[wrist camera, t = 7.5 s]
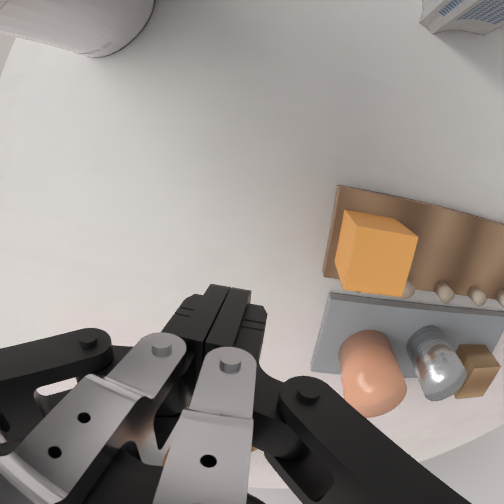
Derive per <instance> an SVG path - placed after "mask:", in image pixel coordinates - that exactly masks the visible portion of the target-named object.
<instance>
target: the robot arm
mask: <svg viewBox="0 0 504 504" xmlns="http://www.w3.org/2000/svg"><path fill="white" fill-rule="evenodd" d="M153 5H154V0H0V34H4V35H9V36H14V37H18V38H23V39H28V40H32V41H36V42H40V43H44V44H48V45H52V46H55V47H59V48H62V49H66V50H69V51H73V52H74V53H78V54H82V55H86V56H89V57H103V56H106V55H110V54H112V53H114V52H116V51H118V50H120V49H121V48H123V47H124V46H125V45H127V44H128V43H129V42H130V41H131V40H132V39H134V38H135V37H136V36H137V34H138V33H139V32H140V31H141V30H142V29H143V27H144V25H145V24H146V22H147V21H148V19H149V17H150V14H151V12H152V9H153ZM250 300H251V291H250V290H244V289H238V288H233V287H232V288H230V287H226V286H221V285H215V284H210V286H209V287H208V289H207V290H206V292H205V293H204V295H198V294H194V295H192V296H190V297H188V298H186V299H185V300H184V301H183V303H182V304H181V305H180V307H179V308H178V309H177V311H176V312H175V314H174V315H173V316H172V318H171V319H170V320H169V322H168V323H167V324H166V326H165V327H164V329H163V330H162V331H161V332H160V333H152V334H149V335H147V336H145V337H143V338H142V339H141V340H140V341H139V342H138V343H137V344H136V345H135V346H134V347H127V346H113V345H112V343H111V338H110V336H109V335H108V333H106V332H105V331H103V330H100V329H97V328H85V329H80V330H76V331H72V332H68V333H64V334H60V335H56V336H52V337H48V338H44V339H40V340H36V341H32V342H28V343H23V344H19V345H15V346H10V347H6V348H2V349H0V504H265V503H264V502H262V501H261V500H259V499H257V498H256V497H254V496H252V495H250V494H248V493H247V489H248V479H249V469H250V458H251V446H253V447H255V448H257V449H259V450H262V451H264V455H265V457H266V459H267V461H268V462H269V463H270V464H271V466H272V467H273V468H274V470H275V471H276V472H277V473H278V475H279V476H280V477H281V478H282V479H283V481H284V482H285V483H286V484H287V486H288V487H289V488H290V489H291V490H292V491H293V493H294V494H295V495H296V496H297V497H298V498H299V500H300V501H301V502H302V503H303V504H471V503H470V502H469V501H467V500H466V499H465V498H463V497H462V496H460V495H459V494H458V493H456V492H455V491H454V490H453V489H451V488H450V487H449V486H448V485H446V484H445V483H444V482H442V481H441V480H440V479H438V478H437V477H436V476H435V475H433V474H432V473H431V472H430V471H428V470H427V469H426V468H424V467H423V466H422V465H421V464H420V463H418V462H417V461H416V460H415V459H413V458H412V457H411V456H410V455H409V454H407V453H406V452H405V451H404V450H403V449H401V448H400V447H399V446H398V445H397V444H395V443H394V442H393V441H392V440H391V439H389V438H388V437H387V436H386V435H385V434H384V433H382V432H381V431H380V430H379V429H378V428H376V427H375V426H374V425H373V424H372V423H371V422H370V421H368V420H367V419H366V418H365V417H364V416H363V415H362V414H360V413H359V412H358V411H357V410H356V409H355V408H354V407H352V406H351V405H350V404H349V403H348V402H347V401H346V400H345V399H343V398H342V397H341V396H340V395H339V394H338V393H337V392H336V391H335V390H333V389H332V388H331V387H330V386H329V385H328V384H327V383H325V382H324V381H322V380H320V379H317V378H314V377H310V376H297V377H293V378H291V379H288V380H287V381H285V382H281V381H279V380H276V379H274V378H272V377H270V376H269V375H267V374H266V373H265V372H264V371H263V370H262V368H261V367H260V365H259V359H260V354H261V349H262V343H263V337H264V331H265V325H266V319H267V313H266V311H265V309H264V307H263V306H260V305H254V304H250ZM74 377H76V380H77V383H78V384H77V385H76V386H75V387H74V388H73V389H70V390H67V391H63V392H60V393H56V394H52V395H49V396H43V395H40V394H39V393H38V392H37V391H36V389H37V388H39V387H41V386H45V385H49V384H52V383H56V382H60V381H63V380H67V379H70V378H74ZM192 396H193V397H192ZM191 398H192V400H191ZM190 400H191V403H190ZM189 403H190V406H189V408H188V405H189ZM169 447H170V449H169ZM168 449H169V453H168V456H167V459H166V462H165V465H164V466H162V464H163V460H164V457H165V455H166V453H167V451H168Z"/></svg>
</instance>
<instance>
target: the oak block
mask: <svg viewBox="0 0 504 504" xmlns="http://www.w3.org/2000/svg"><path fill="white" fill-rule="evenodd" d="M455 353H456V354H457V356H458V358H459V359H460V361H461V362H462V364H463V366H464V367H465V369H466V372H467V375H466V379H465V381H464V383H463V385H462V386H461V387H460V389H459V390H458V391H456V392H455V393H454V396H455V398H456V399H461V398H471V397H480V396H483V395H484V393H485V392H486V390H487V389H488V387H489V385H490V384H491V382H492V381H493V379H494V377H495V376H496V374H497V372H498V371H499V369H500V367H501V366H500V365H499V363H498V362H497V360H496V359H495V358H494V356H493V355H492V353H491V352H490V351H489V349H488V348H487V347H486V345H480V344H459V346H458V348H457V350H456V352H455Z"/></svg>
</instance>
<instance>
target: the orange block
mask: <svg viewBox="0 0 504 504" xmlns="http://www.w3.org/2000/svg"><path fill="white" fill-rule="evenodd" d="M417 241H418V236H417V235H415V234H414V233H413V232H412V231H410V230H409V229H408V228H406V227H405V226H404V225H403V224H401V223H400V222H399V221H397V220H396V219H394V218H389V217H384V216H378V215H373V214H368V213H362V212H356V211H350V210H344V214H343V220H342V225H341V230H340V236H339V241H338V246H337V251H336V256H335V261H334V262H335V265H336V268H337V271H338V274H339V278H340V281H341V284H342V287H343V290H349V291H357V292H365V293H373V294H380V295H389V296H397V297H402V294H403V291H404V288H405V284H406V281H407V278H408V274H409V271H410V268H411V264H412V260H413V257H414V253H415V249H416V245H417Z"/></svg>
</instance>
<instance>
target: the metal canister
mask: <svg viewBox="0 0 504 504" xmlns="http://www.w3.org/2000/svg"><path fill="white" fill-rule="evenodd" d="M406 351H407V354H408V356H409V358H410V361H411V363H412V365H413V368H414V370H415V372H416V375H417V377H418V380H419V382H420V384H421V387H422V389H423V392H424V394H425V397H426V398H427V399H428V400H430V401H439V400H443V399H446V398H448V397H449V396H451V395H453V394H454V393H455V392H456V391H458V390H459V389H460V387H461V386H462V385H463V383H464V381H465V379H466V375H467V372H466V369H465V367H464V366H463V364H462V362H461V361H460V359H459V358H458V356H457V354H456V353H455V351H454V349H453V348H452V346H451V345H450V343H449V342H448V340H447V338H446V337H445V335H444V334H443V332H442V331H441V329H440V328H439V327H437V326H433V325H429V326H425V327H422V328H420V329H418V330H417V331H416V332H415V333H413V335H412V336H411V337H410V338H409V340H408V342H407V345H406Z"/></svg>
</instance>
